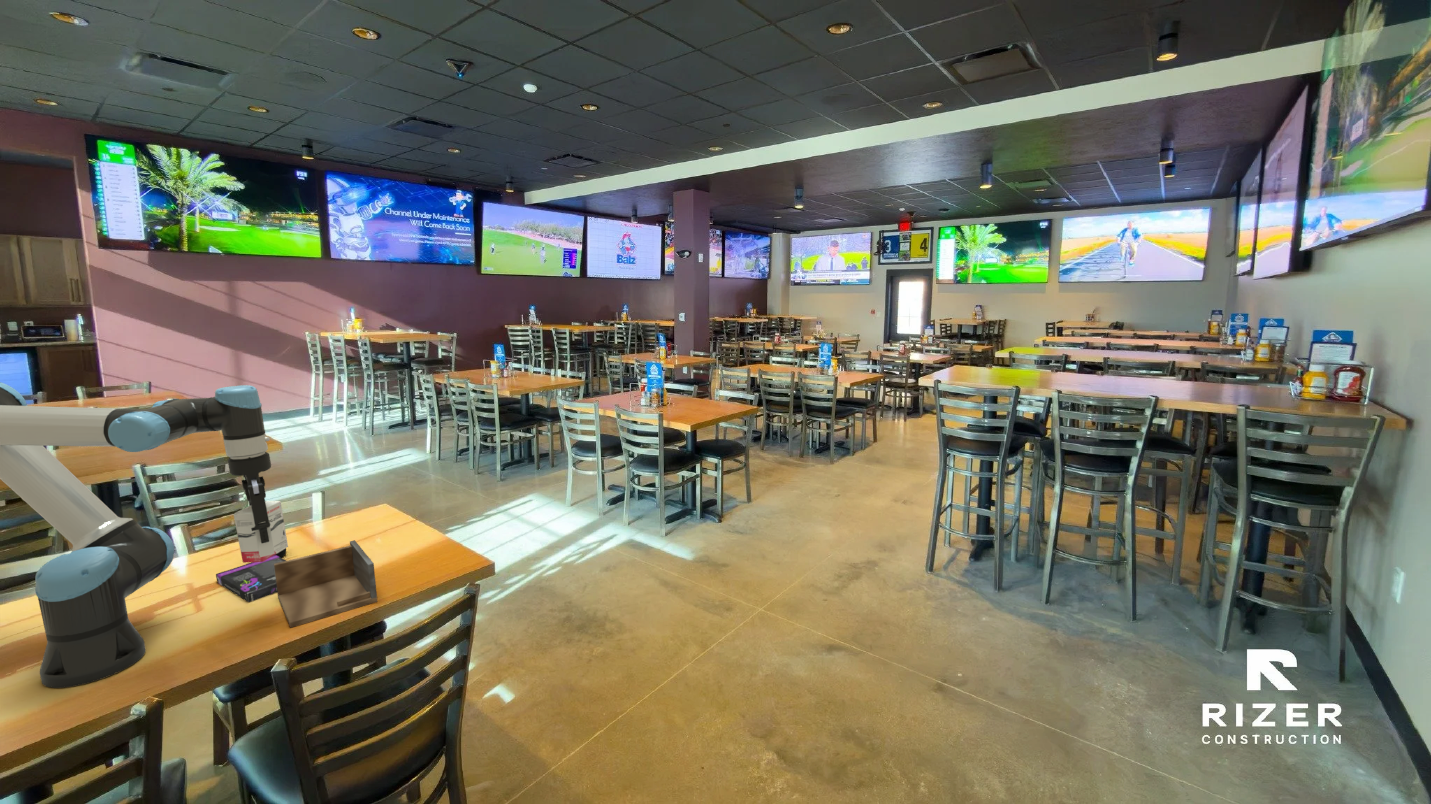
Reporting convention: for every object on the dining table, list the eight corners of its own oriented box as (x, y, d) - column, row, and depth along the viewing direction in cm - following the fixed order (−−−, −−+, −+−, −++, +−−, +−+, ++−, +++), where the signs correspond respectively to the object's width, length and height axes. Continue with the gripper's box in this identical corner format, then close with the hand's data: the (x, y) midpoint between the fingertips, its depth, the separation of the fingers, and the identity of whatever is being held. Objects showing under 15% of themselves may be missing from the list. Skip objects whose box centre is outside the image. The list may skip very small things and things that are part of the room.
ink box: (263, 562, 137) (254, 512, 135) (241, 563, 137) (232, 513, 135) (289, 546, 145) (281, 499, 143) (268, 547, 145) (260, 500, 143)
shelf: (290, 627, 140) (285, 586, 138) (277, 597, 153) (273, 559, 152) (377, 601, 152) (373, 563, 150) (358, 575, 165) (354, 540, 164)
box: (217, 585, 161) (248, 605, 151) (215, 573, 161) (245, 592, 150) (277, 565, 173) (309, 582, 162) (275, 554, 172) (307, 570, 161)
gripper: (273, 460, 131) (290, 558, 135) (264, 443, 147) (279, 530, 151) (229, 468, 126) (248, 569, 130) (224, 449, 142) (241, 539, 147)
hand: (265, 548), depth 141 cm, fingers closed on ink box, 9 cm apart
